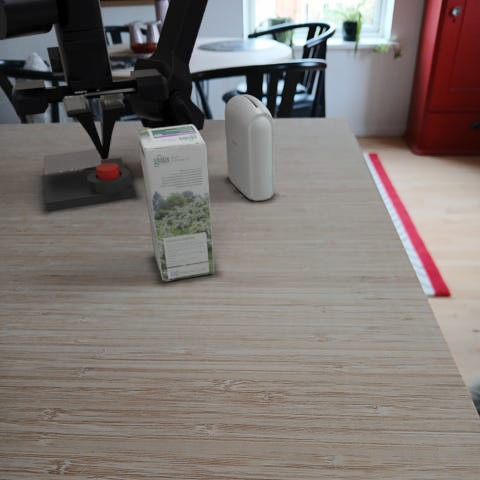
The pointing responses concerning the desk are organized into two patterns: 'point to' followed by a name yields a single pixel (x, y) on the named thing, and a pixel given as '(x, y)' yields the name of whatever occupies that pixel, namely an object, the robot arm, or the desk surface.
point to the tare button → (107, 171)
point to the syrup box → (178, 200)
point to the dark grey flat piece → (87, 188)
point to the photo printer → (250, 146)
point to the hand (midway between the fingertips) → (104, 158)
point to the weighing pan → (71, 162)
